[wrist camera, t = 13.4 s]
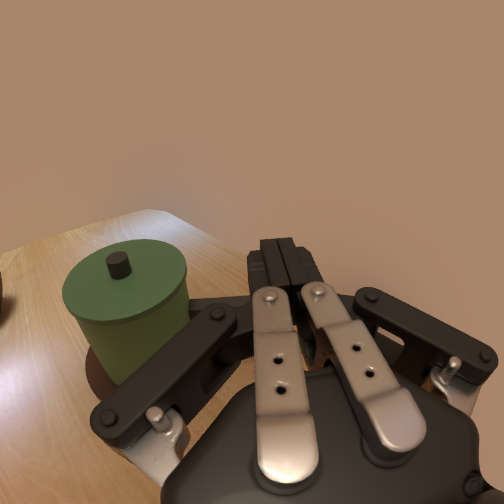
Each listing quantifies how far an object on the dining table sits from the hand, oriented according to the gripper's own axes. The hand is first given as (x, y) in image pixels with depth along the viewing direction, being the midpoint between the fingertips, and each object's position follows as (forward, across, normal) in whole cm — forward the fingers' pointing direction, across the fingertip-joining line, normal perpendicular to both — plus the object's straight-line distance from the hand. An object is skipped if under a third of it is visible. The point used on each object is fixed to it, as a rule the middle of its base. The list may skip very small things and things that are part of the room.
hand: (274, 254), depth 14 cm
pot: (+8, +7, +17) cm, 20 cm away
